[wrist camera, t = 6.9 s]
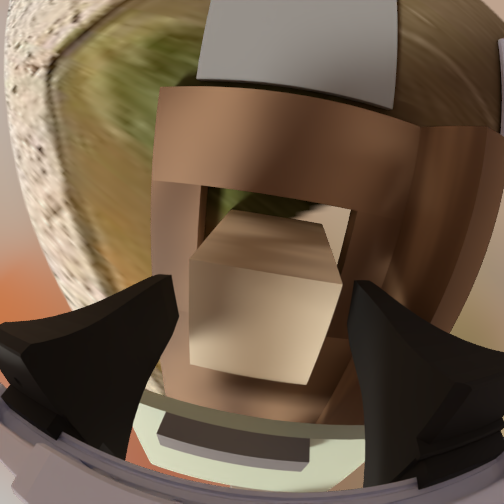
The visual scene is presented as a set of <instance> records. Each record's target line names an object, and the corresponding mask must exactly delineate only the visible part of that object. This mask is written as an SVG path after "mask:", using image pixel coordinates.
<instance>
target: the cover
mask: <svg viewBox="0 0 504 504" xmlns="http://www.w3.org/2000/svg"><path fill="white" fill-rule="evenodd" d="M133 427H134V430H135V432H136V434H137V436H138V438H139V441H140V442H141V445H142V446H143V449H144V451H145V453H146V454H147V456H148V458H149V460H150V462H151V464H153V465H156V466H159V467H162V468H165V469H168V470H171V471H174V472H178V473H181V474H184V475H189V476H192V477H196V478H200V479H204V480H208V481H212V482H217V483H222V484H228V485H233V486H239V487H245V488H252V489H260V490H269V491H281V492H299V493H301V492H327V491H328V490H330V489H331V488H332V487H334V486H335V485H336V484H338V483H339V482H340V481H342V480H343V479H344V478H345V477H347V476H348V475H349V474H350V473H352V472H353V471H354V470H355V469H356V468H358V467H359V466H360V465H361V464H362V463H364V462H365V427H364V425H327V424H310V423H298V422H288V421H280V420H272V419H265V418H258V417H252V416H246V415H241V414H235V413H230V412H225V411H221V410H216V409H212V408H207V407H203V406H199V405H195V404H191V403H188V402H184V401H180V400H177V399H173V398H170V397H167V396H164V395H160V394H157V393H154V392H151V391H148V390H145V389H144V392H143V395H142V397H141V400H140V403H139V406H138V409H137V412H136V415H135V419H134V422H133Z"/></svg>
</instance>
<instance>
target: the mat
mask: <svg viewBox="0 0 504 504" xmlns="http://www.w3.org/2000/svg"><path fill="white" fill-rule="evenodd" d="M396 65H397V0H211V3H210V8H209V12H208V17H207V21H206V26H205V31H204V36H203V42H202V47H201V53H200V58H199V64H198V71H197V77H196V79H197V80H199V81H215V82H237V83H251V84H262V85H271V86H279V87H287V88H294V89H300V90H306V91H312V92H317V93H322V94H327V95H332V96H336V97H341V98H345V99H349V100H353V101H357V102H361V103H365V104H368V105H372V106H375V107H379V108H382V109H385V110H392V109H393V103H394V93H395V81H396Z"/></svg>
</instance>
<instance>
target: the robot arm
mask: <svg viewBox="0 0 504 504" xmlns="http://www.w3.org/2000/svg"><path fill="white" fill-rule="evenodd" d="M498 45H499V53H500V63H501V78H502V117H501V133H500V135H502V136H503V137H504V39H503V38H501V39H499V40H498ZM178 319H179V312H178V307H177V302H176V297H175V291H174V286H173V280H172V275H166V274H157V275H154V276H151V277H149V278H147V279H145V280H143V281H140V282H138V283H136V284H134V285H132V286H130V287H128V288H126V289H124V290H122V291H120V292H118V293H116V294H114V295H112V296H110V297H107V298H105V299H103V300H101V301H99V302H96V303H94V304H91V305H89V306H86V307H83V308H80V309H78V310H75V311H71V312H68V313H64V314H61V315H57V316H53V317H48V318H43V319H37V320H30V321H19V322H4V323H2V324H0V370H1V372H2V373H3V374H4V376H5V378H6V379H7V381H8V382H9V383H10V384H11V385H10V386H9V387H8V388H7V389H6V388H5V387H4V386H3V384H1V383H0V461H1V462H2V463H3V464H4V465H5V467H6V468H7V469H8V470H9V471H10V472H11V473H12V474H13V475H14V476H15V477H16V478H15V480H14V481H13V483H12V485H11V487H12V490H13V492H14V494H15V495H16V496H17V497H18V498H19V499H20V500H21V501H22V502H23V503H24V504H504V437H503V435H502V433H501V430H502V429H503V428H504V421H503V418H502V417H503V416H504V352H500V351H496V350H491V349H488V348H485V347H482V346H479V345H476V344H473V343H470V342H467V341H465V340H462V339H460V338H458V337H456V336H454V335H451V334H449V333H447V332H445V331H443V330H441V329H439V328H438V327H436V326H434V325H432V324H431V323H429V322H427V321H425V320H424V319H422V318H421V317H419V316H418V315H416V314H415V313H413V312H412V311H410V310H409V309H407V308H406V307H405V306H403V305H402V304H401V303H399V302H398V301H397V300H395V299H394V298H393V297H391V296H390V295H389V294H388V293H386V292H385V291H384V290H382V289H381V288H380V287H378V286H377V285H376V284H374V283H373V282H371V281H370V280H354V284H353V291H352V297H351V303H350V309H349V314H348V320H347V330H348V338H349V345H350V349H351V353H352V357H353V361H354V365H355V369H356V372H357V376H358V381H359V385H360V389H361V394H362V401H363V412H364V427H365V469H364V484H363V488H359V489H351V490H341V491H328V492H301V493H294V492H266V491H254V490H244V489H235V488H228V487H221V486H216V485H210V484H205V483H200V482H194V481H190V480H186V479H182V478H178V477H174V476H170V475H167V474H163V473H160V472H156V471H153V470H150V469H147V468H144V467H141V466H138V465H135V464H132V463H130V462H127V461H125V458H126V453H127V447H128V442H129V438H130V434H131V430H132V426H133V422H134V419H135V415H136V412H137V409H138V406H139V403H140V400H141V397H142V395H143V392H144V389H145V387H146V384H147V382H148V380H149V378H150V376H151V374H152V372H153V370H154V368H155V366H156V364H157V363H158V361H159V359H160V357H161V355H162V354H163V352H164V350H165V348H166V346H167V344H168V343H169V341H170V339H171V337H172V335H173V332H174V330H175V327H176V324H177V322H178ZM111 479H112V480H111ZM141 491H142V492H141Z"/></svg>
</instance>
